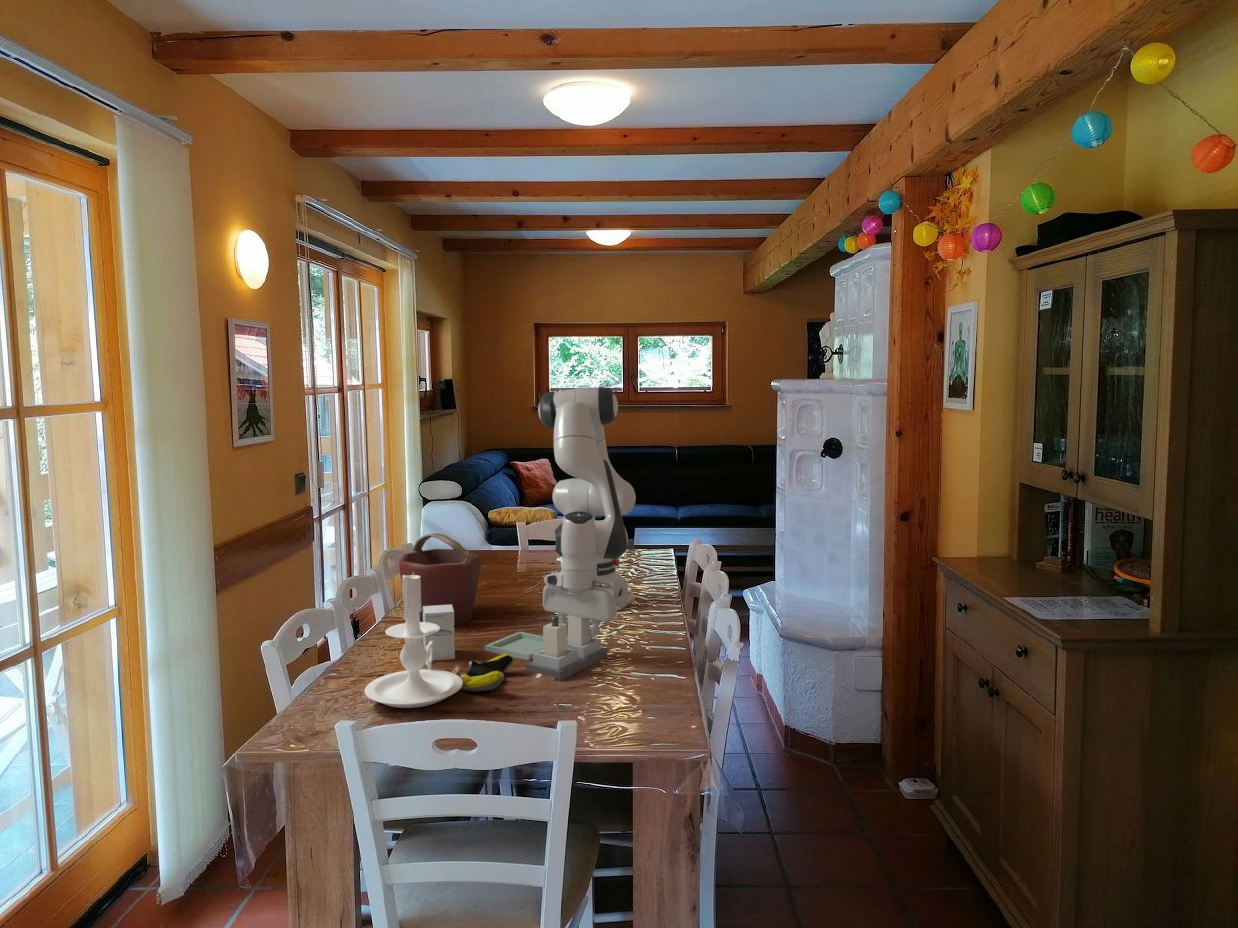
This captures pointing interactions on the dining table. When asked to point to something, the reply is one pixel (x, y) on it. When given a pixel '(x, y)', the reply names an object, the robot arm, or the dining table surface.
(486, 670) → the yellow black curved piece
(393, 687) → the candlestick
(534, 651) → the tray
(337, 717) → the dining table surface
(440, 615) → the supplement box
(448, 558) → the bucket
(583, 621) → the plug
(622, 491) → the robot arm
